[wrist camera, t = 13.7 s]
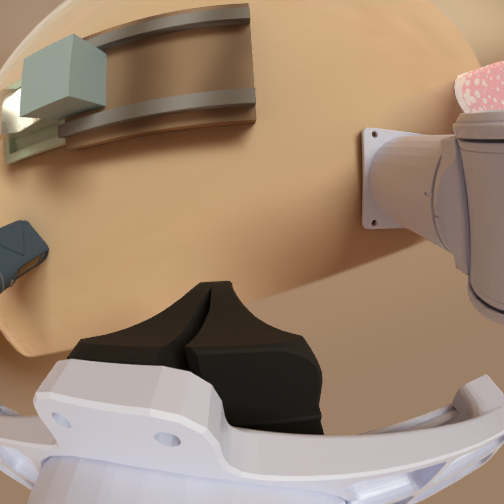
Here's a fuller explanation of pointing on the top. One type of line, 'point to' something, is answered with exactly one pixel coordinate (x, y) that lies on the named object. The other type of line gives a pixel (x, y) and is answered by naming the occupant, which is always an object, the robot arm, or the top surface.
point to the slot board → (171, 76)
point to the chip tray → (32, 140)
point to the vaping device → (19, 252)
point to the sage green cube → (63, 80)
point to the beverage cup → (481, 88)
